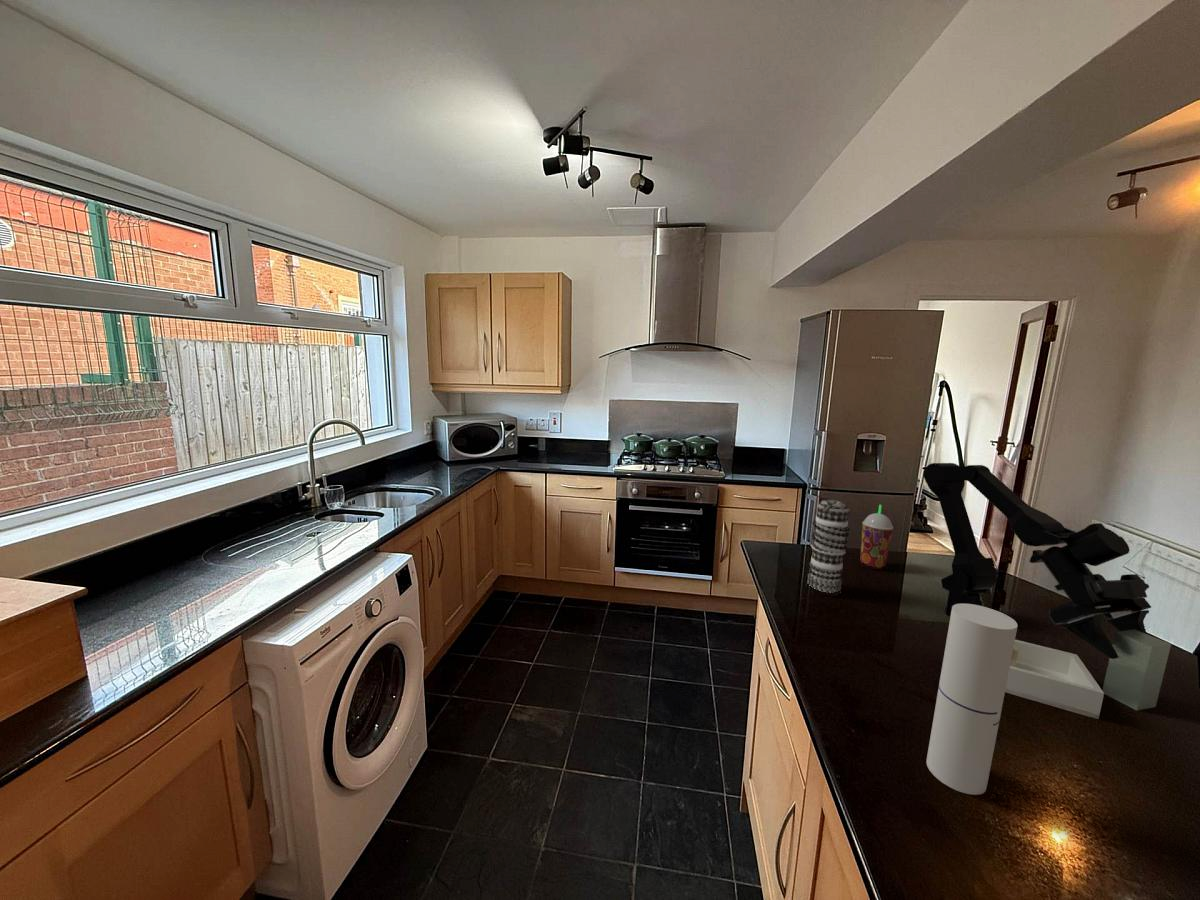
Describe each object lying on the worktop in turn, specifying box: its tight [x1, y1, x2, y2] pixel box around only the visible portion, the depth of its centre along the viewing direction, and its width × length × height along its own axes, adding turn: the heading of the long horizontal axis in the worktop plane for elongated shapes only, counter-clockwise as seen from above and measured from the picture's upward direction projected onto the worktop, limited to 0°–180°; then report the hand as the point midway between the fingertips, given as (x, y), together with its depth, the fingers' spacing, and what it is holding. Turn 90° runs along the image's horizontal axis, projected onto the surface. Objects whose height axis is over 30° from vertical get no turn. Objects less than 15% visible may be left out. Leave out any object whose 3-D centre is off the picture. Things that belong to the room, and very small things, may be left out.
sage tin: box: [1101, 629, 1172, 711], centre depth 87 cm, size 5×5×12 cm
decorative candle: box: [806, 499, 851, 593], centre depth 128 cm, size 9×9×25 cm
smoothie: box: [859, 504, 894, 568], centre depth 147 cm, size 8×8×20 cm
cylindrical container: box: [926, 604, 1018, 796], centre depth 68 cm, size 7×7×25 cm
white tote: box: [1005, 639, 1105, 720], centre depth 93 cm, size 18×14×5 cm
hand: (1132, 655), depth 88 cm, fingers open, 9 cm apart
